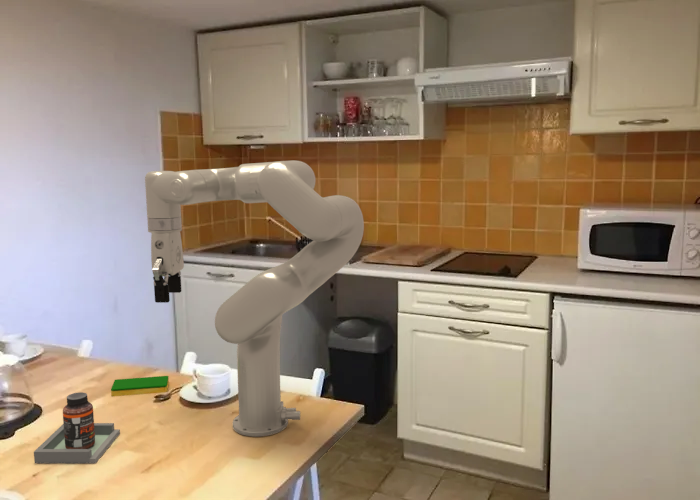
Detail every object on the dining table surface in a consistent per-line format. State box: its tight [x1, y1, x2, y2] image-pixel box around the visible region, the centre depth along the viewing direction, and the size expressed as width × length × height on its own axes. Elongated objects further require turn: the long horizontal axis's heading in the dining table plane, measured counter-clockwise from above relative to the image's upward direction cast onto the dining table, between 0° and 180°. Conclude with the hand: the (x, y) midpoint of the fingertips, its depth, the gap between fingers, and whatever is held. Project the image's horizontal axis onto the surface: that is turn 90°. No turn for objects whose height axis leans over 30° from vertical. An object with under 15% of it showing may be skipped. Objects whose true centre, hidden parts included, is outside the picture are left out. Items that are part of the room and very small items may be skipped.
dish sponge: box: [110, 375, 170, 397], centre depth 167 cm, size 7×14×2 cm, turn 102°
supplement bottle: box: [62, 391, 95, 449], centre depth 134 cm, size 6×6×11 cm
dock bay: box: [33, 422, 121, 464], centre depth 135 cm, size 12×13×2 cm
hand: (168, 297), depth 149 cm, fingers open, 9 cm apart
